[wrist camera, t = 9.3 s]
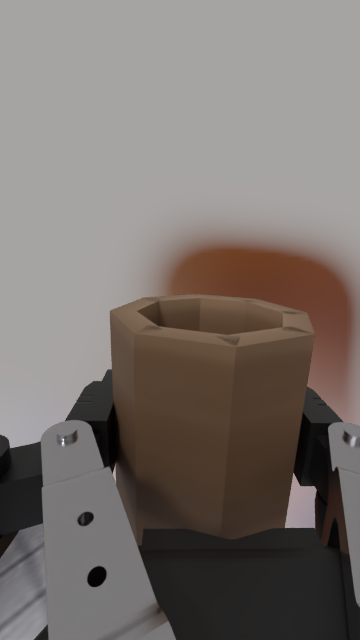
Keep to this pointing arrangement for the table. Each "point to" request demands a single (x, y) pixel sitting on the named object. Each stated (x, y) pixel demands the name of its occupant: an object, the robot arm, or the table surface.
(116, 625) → the robot arm
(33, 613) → the table surface
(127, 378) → the octagonal pencil holder
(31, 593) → the table surface
